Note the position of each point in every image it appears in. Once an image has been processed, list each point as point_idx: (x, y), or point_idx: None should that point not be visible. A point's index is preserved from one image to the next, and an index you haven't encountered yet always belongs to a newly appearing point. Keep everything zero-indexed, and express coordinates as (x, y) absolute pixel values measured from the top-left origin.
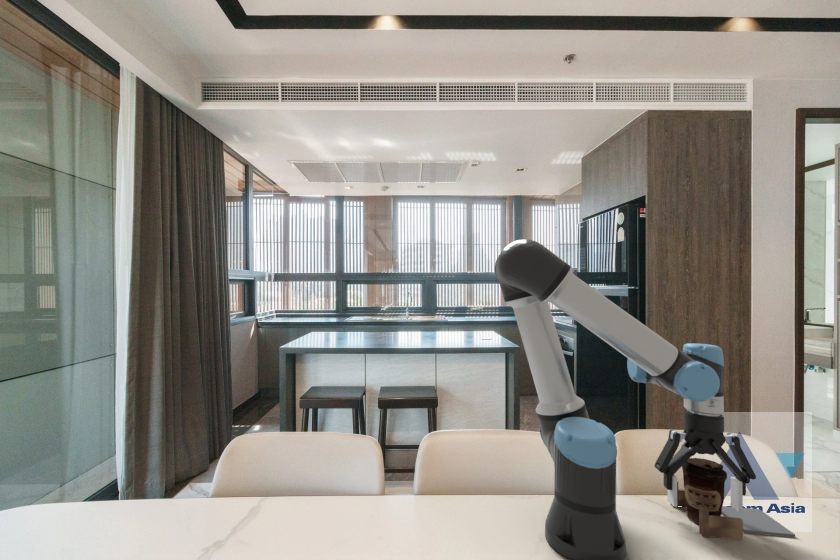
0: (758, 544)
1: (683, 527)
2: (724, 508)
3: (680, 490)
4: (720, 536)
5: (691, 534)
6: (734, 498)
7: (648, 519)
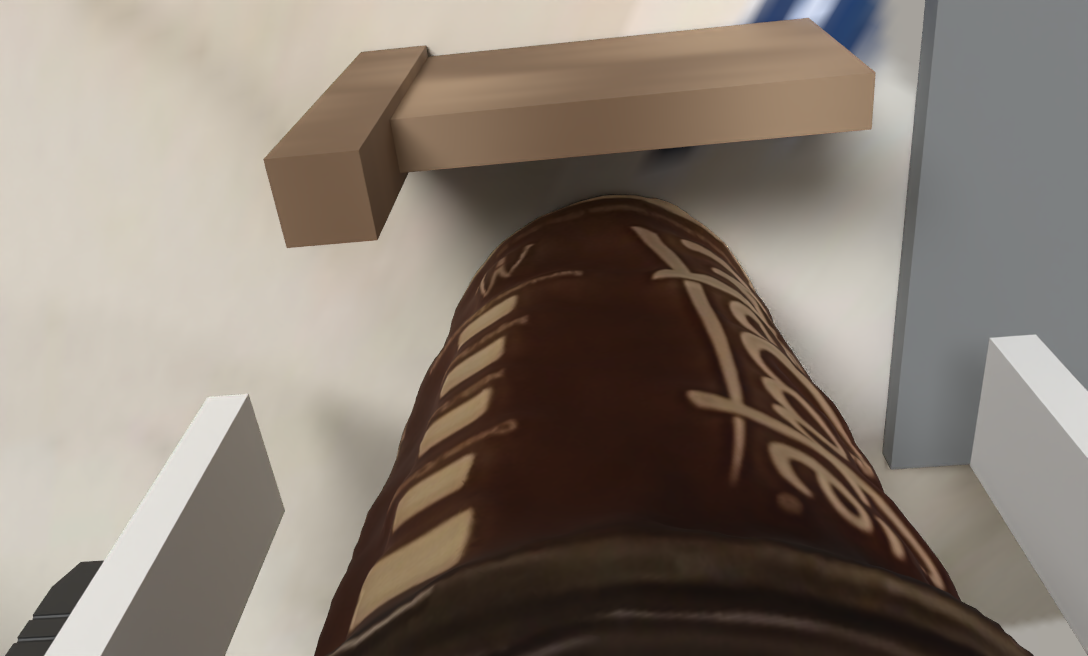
0: None
1: (352, 484)
2: (1027, 51)
3: (439, 168)
4: None
5: None
6: (1037, 480)
7: (64, 432)
